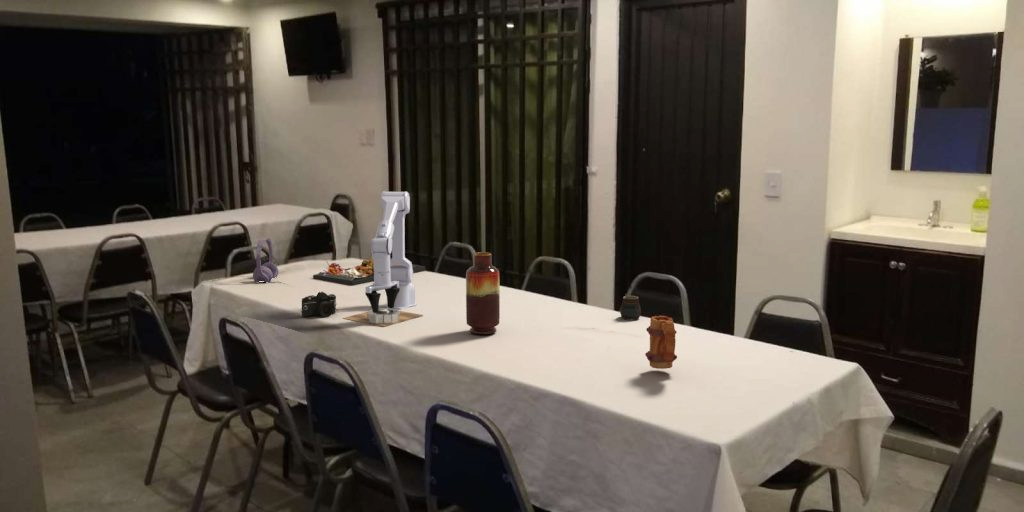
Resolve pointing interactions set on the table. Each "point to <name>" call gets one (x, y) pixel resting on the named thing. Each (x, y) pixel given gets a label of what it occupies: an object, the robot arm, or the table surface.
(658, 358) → the mug
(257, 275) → the headphones
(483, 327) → the vase
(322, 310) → the film camera
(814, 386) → the table surface
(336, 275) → the food platter
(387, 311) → the cap
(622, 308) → the mate gourd
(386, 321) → the grey faceted ring
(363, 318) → the board
